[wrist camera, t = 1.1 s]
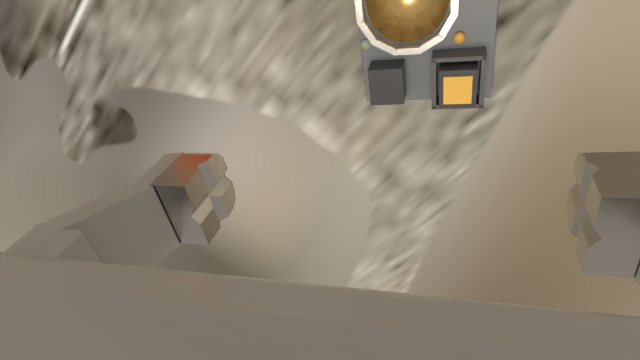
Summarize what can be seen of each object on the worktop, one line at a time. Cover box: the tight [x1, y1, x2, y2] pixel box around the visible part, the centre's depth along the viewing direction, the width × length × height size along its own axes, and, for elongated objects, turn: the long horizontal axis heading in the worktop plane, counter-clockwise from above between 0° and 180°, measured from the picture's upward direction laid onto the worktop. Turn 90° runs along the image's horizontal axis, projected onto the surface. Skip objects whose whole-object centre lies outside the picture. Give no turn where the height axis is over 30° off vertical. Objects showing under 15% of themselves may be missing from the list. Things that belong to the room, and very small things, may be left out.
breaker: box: [439, 61, 478, 108], centre depth 38 cm, size 4×3×2 cm
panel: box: [359, 0, 498, 109], centre depth 38 cm, size 14×12×4 cm
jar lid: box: [355, 0, 459, 55], centre depth 37 cm, size 9×9×1 cm
